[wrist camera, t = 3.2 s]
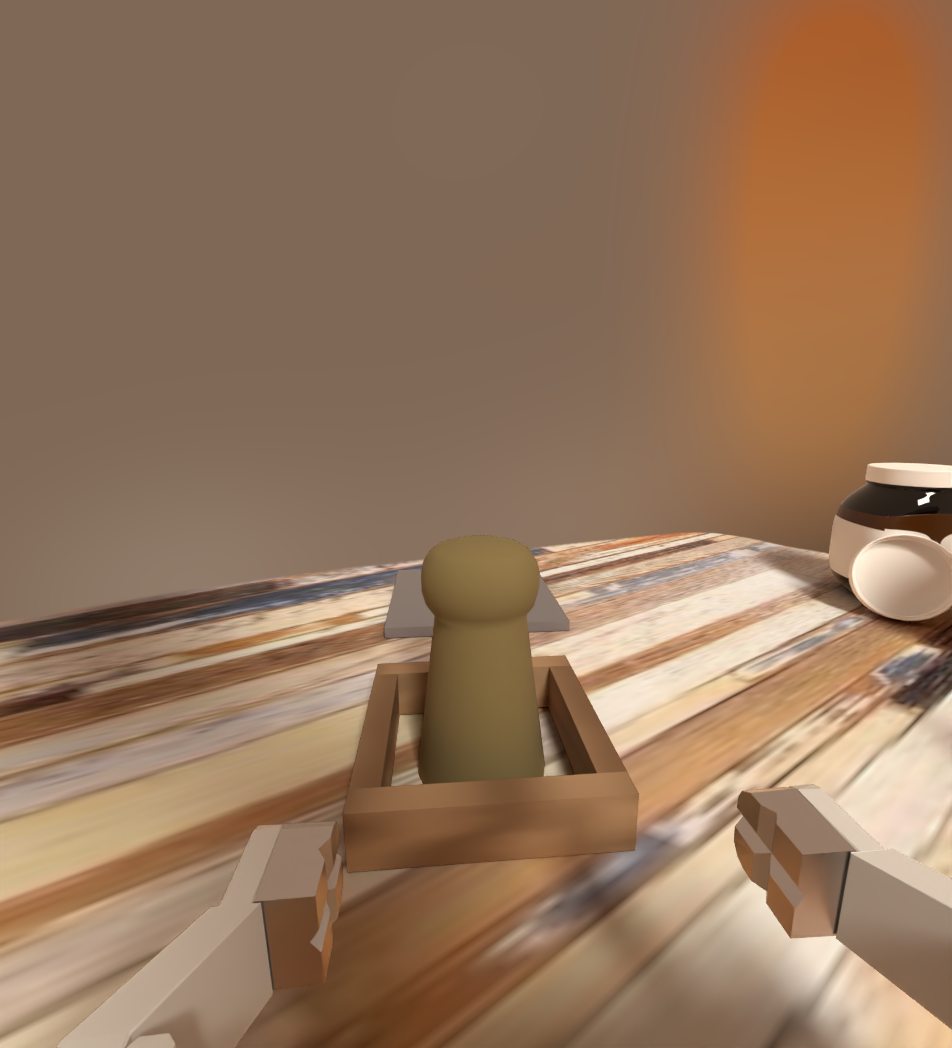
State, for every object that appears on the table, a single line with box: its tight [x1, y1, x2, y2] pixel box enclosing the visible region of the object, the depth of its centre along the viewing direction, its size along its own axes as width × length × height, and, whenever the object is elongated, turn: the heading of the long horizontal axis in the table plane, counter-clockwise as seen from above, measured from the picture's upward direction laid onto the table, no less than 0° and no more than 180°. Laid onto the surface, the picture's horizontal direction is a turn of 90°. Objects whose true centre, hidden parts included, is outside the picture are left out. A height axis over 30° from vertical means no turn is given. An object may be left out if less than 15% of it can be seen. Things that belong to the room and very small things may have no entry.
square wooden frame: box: [343, 655, 639, 872], centre depth 23 cm, size 11×11×2 cm
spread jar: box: [829, 463, 952, 621], centre depth 42 cm, size 12×11×12 cm
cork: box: [419, 535, 545, 784], centre depth 22 cm, size 6×6×11 cm
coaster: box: [384, 569, 569, 638], centre depth 44 cm, size 14×14×1 cm
